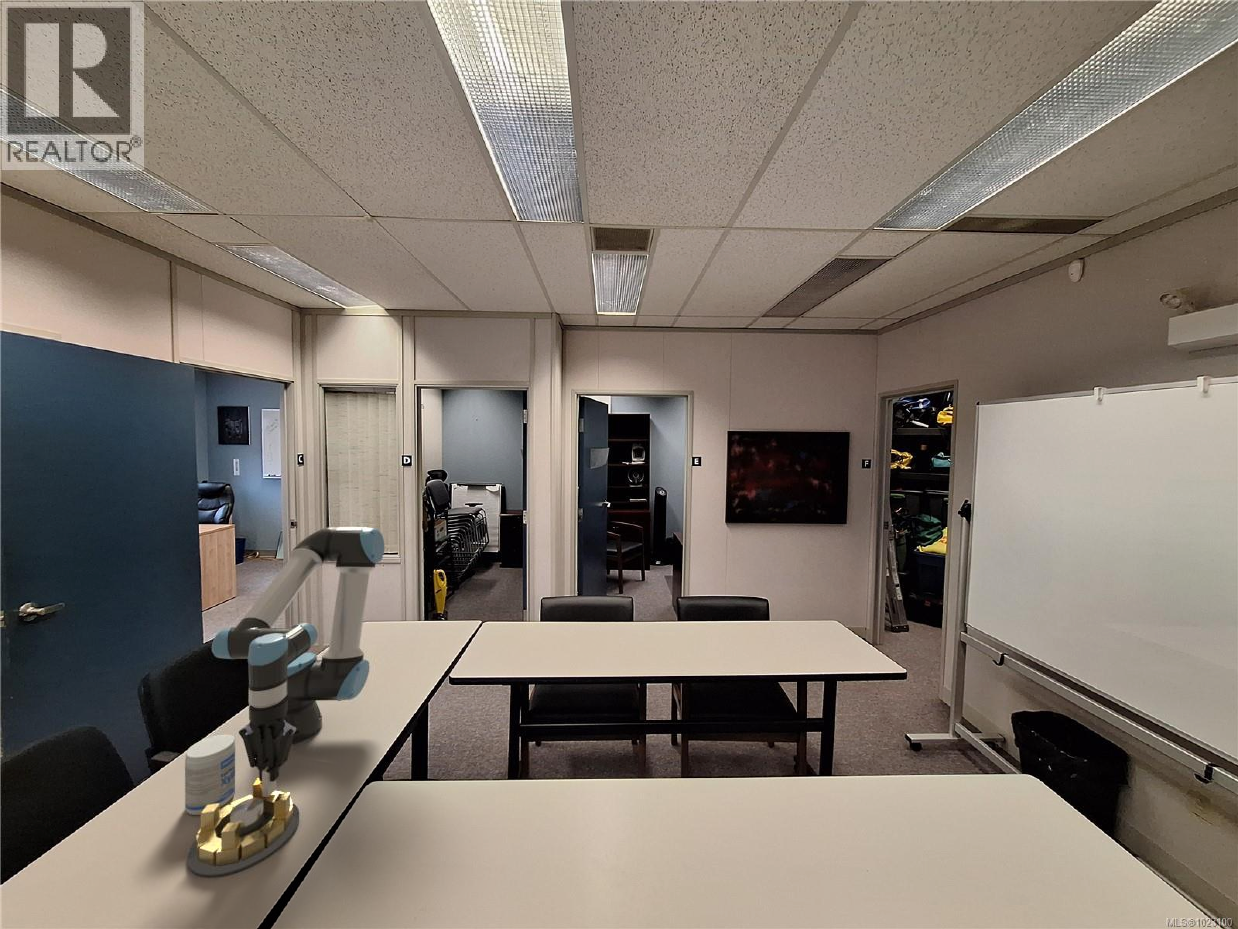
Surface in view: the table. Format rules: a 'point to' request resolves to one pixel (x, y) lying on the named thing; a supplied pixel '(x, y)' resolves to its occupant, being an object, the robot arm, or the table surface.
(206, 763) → the supplement tub
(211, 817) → the yellow block ring
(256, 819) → the spindle base
